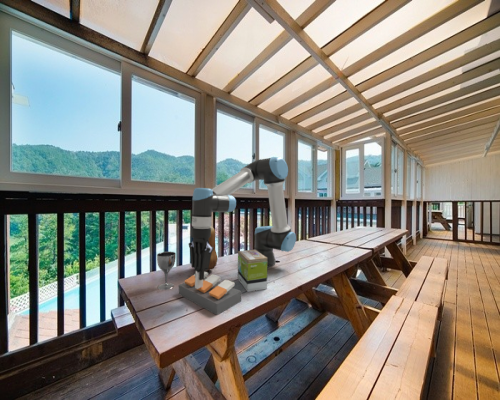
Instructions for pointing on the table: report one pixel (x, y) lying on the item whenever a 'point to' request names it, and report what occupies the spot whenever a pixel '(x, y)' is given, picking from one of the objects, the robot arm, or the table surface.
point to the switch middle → (209, 283)
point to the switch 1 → (193, 279)
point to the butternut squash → (213, 256)
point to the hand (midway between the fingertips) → (198, 287)
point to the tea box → (252, 270)
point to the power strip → (210, 298)
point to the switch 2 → (221, 289)
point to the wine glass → (166, 267)
